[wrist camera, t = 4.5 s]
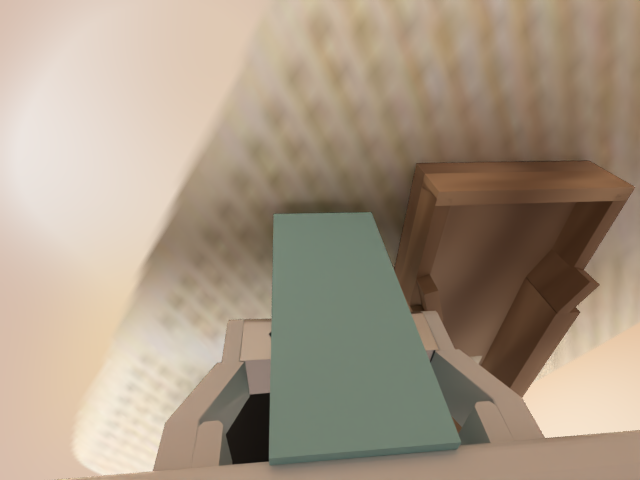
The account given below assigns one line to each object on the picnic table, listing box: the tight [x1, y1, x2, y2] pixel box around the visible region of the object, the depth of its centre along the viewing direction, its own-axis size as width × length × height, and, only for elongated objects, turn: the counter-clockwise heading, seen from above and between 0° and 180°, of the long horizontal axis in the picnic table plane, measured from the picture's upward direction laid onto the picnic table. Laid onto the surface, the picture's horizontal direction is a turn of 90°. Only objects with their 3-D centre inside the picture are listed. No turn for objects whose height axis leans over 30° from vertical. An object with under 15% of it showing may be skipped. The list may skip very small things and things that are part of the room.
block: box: [269, 212, 461, 465], centre depth 12 cm, size 4×4×9 cm
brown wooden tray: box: [394, 161, 635, 434], centre depth 19 cm, size 8×18×4 cm, turn 178°
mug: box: [226, 393, 270, 465], centre depth 20 cm, size 12×9×10 cm
